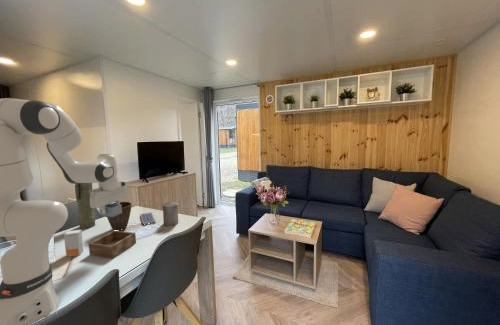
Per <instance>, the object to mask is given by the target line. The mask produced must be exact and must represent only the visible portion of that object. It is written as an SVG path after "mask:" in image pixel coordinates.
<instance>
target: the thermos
mask: <svg viewBox="0 0 500 325" xmlns="http://www.w3.org/2000/svg"><path fill="white" fill-rule="evenodd" d="M92 190H93V183H78V184H74V193H75V199H76V204H77V207H78V208H77V209H78V218H77V220H78V221H77V222H78V225H79V230H86V229H91V228H93V227H95V226H96V215H95V213H94V208H91V207H90V193H91V191H92Z"/></svg>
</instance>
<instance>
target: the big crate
mask: <svg viewBox="0 0 500 325" xmlns="http://www.w3.org/2000/svg"><path fill="white" fill-rule="evenodd" d="M136 238H137V237H136V232H131V231H124V230H122V231H113V230H112V231H111V232H109V233H107V234H105V235H103V236H101V237H99V238H97V239H95V240H93V241H91V242H89V243H88V250H89V256H95V257H102V258H108V259H109V258H110V259H114V258H115V257H117V256H119V255H120V254H121V253H123V252H124V251H126V250H128V249H129V248H132V246H134V245H135V244H136V243H137V240H136Z"/></svg>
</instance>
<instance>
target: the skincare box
mask: <svg viewBox="0 0 500 325" xmlns="http://www.w3.org/2000/svg"><path fill="white" fill-rule="evenodd" d="M82 230H83V229H75V230H68V231H66V232H65V233H64V234H63V237H64V248H65V256H68V257H75V256H81V255H82V254H83V253H84V243H83V233H82Z"/></svg>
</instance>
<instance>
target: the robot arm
mask: <svg viewBox="0 0 500 325" xmlns="http://www.w3.org/2000/svg"><path fill="white" fill-rule="evenodd" d="M25 135H39V136H40V135H41V136H42V137H43V138H44V140H46V141H47V142H46V149H47V151H48V153H49V154H50V156H51V157H52V159H53V160H54V161H55V163H56V164H57V166H58V167H59V168H60V170H61V171H62V174H63V177H64V178H65V180H66V181H67V182H68V183H69V184H74V185H75V184H78V183H92V184H93V183H94V184H98V188H92V191H91V193H90V207H91V208H93V209H98V208H100V209H101V210H102V214H106V213H107V210H105V205H107V204H112V203H116V204H120V202H121V201H122V200H124V199H126V198H127V197H128V187H127V181H123V180H122V181H121V180H119V177H118V172H119V171H118V170H119V168H118V162H117V161H118V160H117V158H116V156H115V155H113V154H106V153H102V154H101V153H100V154H98V155H97V158H96V160H93V162H80V161H76V160H74V158H73V156H72V155H71V153H70V152H71V151H73V150H75V149H77V148H78V147H79V146H80V144H81V143H82V142H83V134H82V131H81V129H80V128H79V126H78V125H77V123H75V121H74V120H73V119H72V118H71V116H70V115H69V114H68V113H67V112H66V111H65V110H63V109H62V108H61V107H60V106H59V105H57V104H55V103H53V102H45V101H42V100H36V99H35V100H34V99H33V100H29V99H20V98H14V97H13V98H12V97H8V98H0V238H1V237H4V238H5V237H15V238H16V243H15V245H14V246H12V247H11V248H9V249H7V250H6V251H5V252H4V254H3V255H1V257H0V271H1V277H2V280H1V282H0V325H30V324H32V323H34V322H36V321H38V320H40V319H42V318H45V317H47V316H49V315H50V314H52V313H54V312H56V313H57V310H58V307H59V306H60V303H61V299H60V297H59V296H58V295H57V294H58V293H57V292H56V290H55V287H54V283H53V269H52V265H50V257H49V245H50V242H51V240H52V238H53V236H54V235H55V234H56V233H57V231H59V230H60V229H61V228H63V226H64V225H65V224H66V223H67V220H68V217H69V210H68V208H67V207H66V205H65V204H64V203H63V202H60V201H55V200H47V199H42V200H41V199H40V200H39V199H37V200H22V198H21V192H22V191H24V190H26V189H28V188H29V187H30V186H31V184H32V182H33V181H34V177H33V173H32V170H31V166H30V163H29V160H28V156H27V154H26V151H25V150H26V149H25V148H24V146H23V144H22V143H23V138H24V136H25Z"/></svg>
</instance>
